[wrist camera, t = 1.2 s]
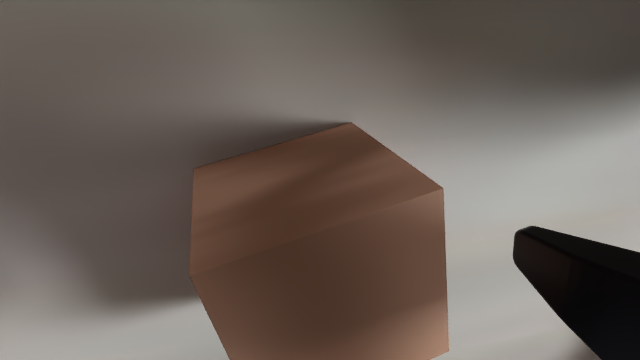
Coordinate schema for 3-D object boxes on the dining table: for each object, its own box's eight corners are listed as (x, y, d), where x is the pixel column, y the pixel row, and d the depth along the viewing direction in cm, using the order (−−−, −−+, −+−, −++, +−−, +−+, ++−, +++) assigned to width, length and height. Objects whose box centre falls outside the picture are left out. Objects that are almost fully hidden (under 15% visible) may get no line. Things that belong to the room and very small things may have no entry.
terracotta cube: (350, 121, 11) (443, 188, 7) (370, 244, 14) (448, 351, 9) (193, 167, 11) (189, 276, 6) (242, 290, 13) (264, 431, 8)
